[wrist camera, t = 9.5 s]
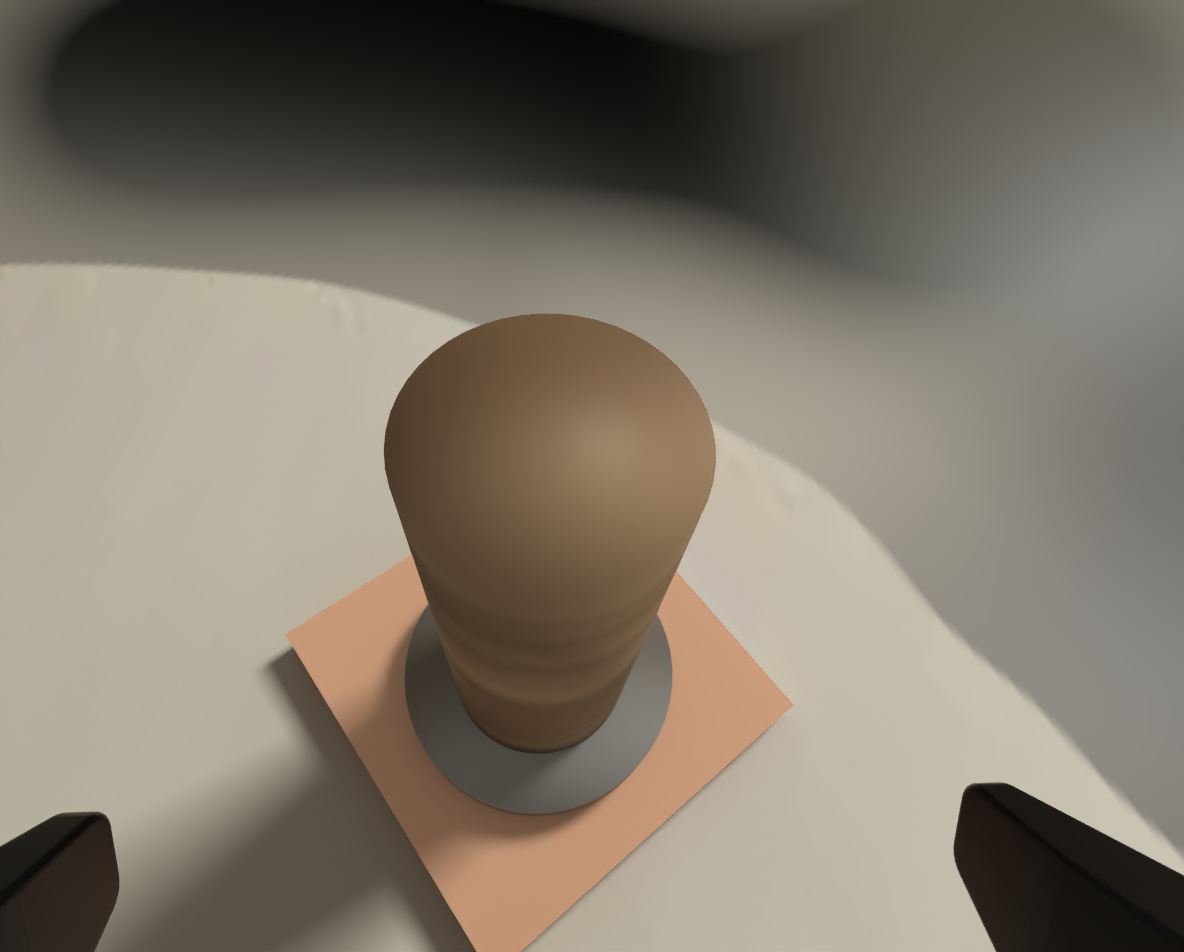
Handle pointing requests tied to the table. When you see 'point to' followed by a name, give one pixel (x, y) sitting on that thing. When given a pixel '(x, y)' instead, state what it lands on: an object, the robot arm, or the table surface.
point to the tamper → (544, 552)
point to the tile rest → (515, 841)
